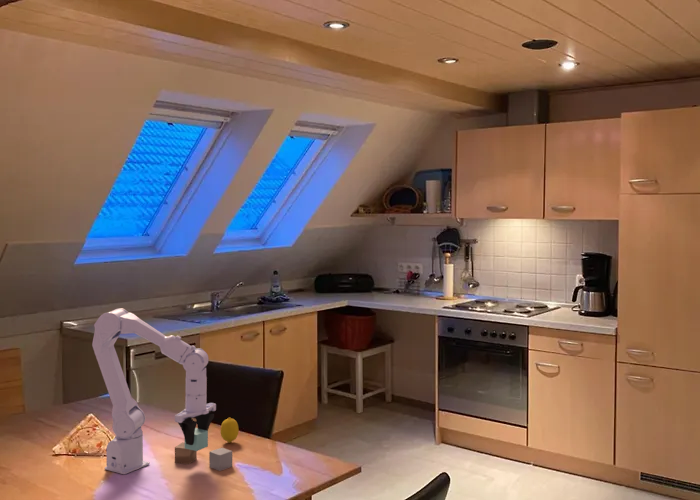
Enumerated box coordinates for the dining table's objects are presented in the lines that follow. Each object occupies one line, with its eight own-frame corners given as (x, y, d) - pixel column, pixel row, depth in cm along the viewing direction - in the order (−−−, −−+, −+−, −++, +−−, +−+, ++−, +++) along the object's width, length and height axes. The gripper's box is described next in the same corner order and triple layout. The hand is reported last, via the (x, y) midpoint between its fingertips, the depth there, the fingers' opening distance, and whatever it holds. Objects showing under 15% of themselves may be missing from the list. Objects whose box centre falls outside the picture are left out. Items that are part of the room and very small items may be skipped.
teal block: (196, 451, 191) (196, 435, 191) (184, 448, 193) (184, 432, 193) (207, 446, 195) (207, 430, 194) (195, 443, 197) (195, 428, 197)
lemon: (234, 446, 212) (234, 420, 211) (217, 445, 213) (217, 419, 213) (241, 440, 217) (241, 415, 217) (224, 439, 218) (224, 414, 218)
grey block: (219, 471, 192) (219, 455, 192) (209, 467, 195) (209, 451, 194) (232, 466, 195) (232, 451, 195) (222, 463, 198) (222, 447, 198)
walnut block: (189, 464, 197) (189, 448, 196) (174, 462, 198) (174, 447, 198) (196, 459, 201) (196, 443, 201) (182, 457, 202) (182, 442, 202)
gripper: (188, 401, 185) (188, 451, 186) (224, 389, 197) (224, 437, 198) (169, 397, 188) (169, 447, 189) (205, 386, 201) (205, 432, 202)
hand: (195, 441), depth 194 cm, fingers closed on teal block, 4 cm apart
